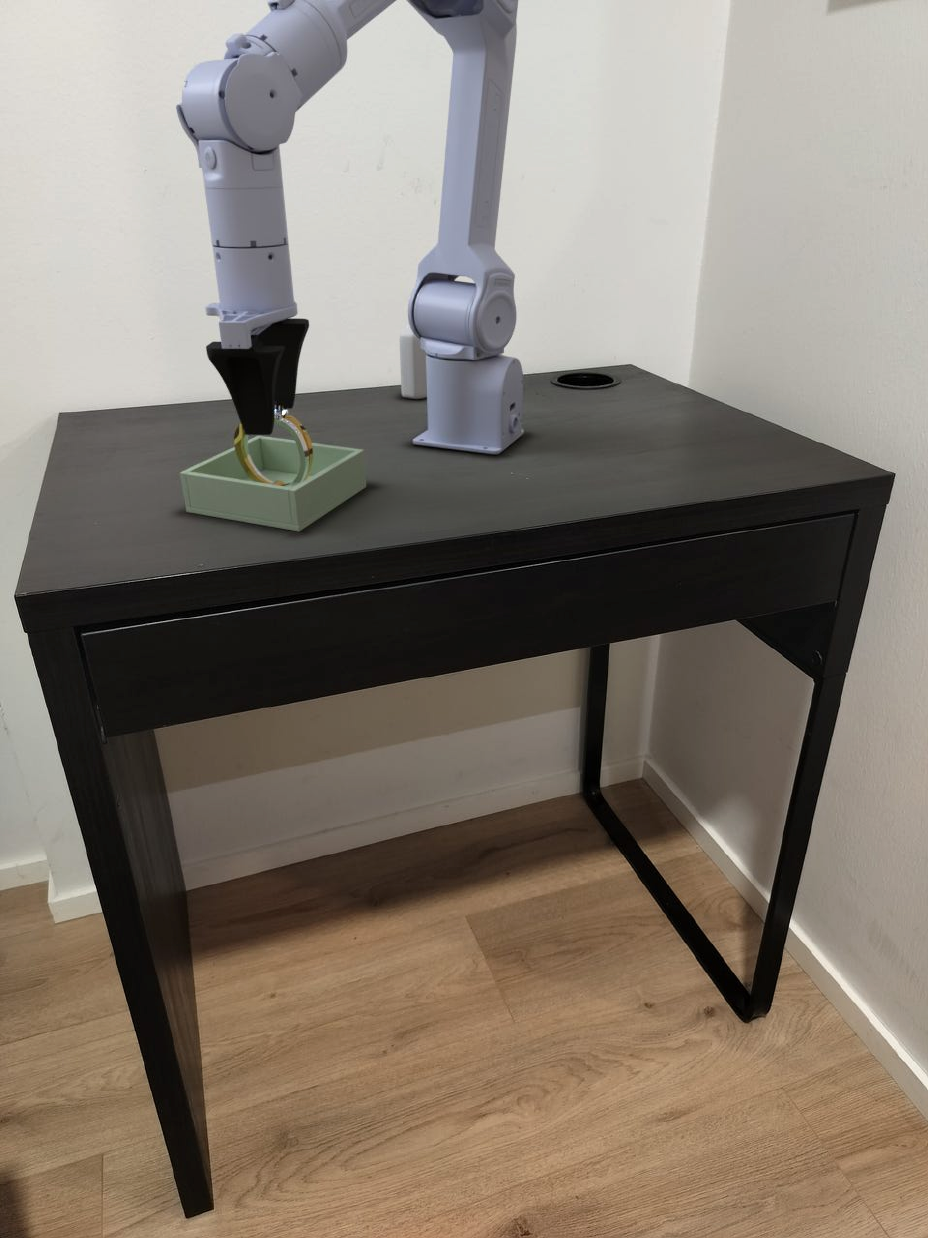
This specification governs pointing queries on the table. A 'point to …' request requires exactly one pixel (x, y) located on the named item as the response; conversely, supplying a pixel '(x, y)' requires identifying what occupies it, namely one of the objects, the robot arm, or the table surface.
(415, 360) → the eye dropper bottle
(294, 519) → the bin
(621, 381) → the table surface
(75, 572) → the table surface
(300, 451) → the ring
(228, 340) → the robot arm
